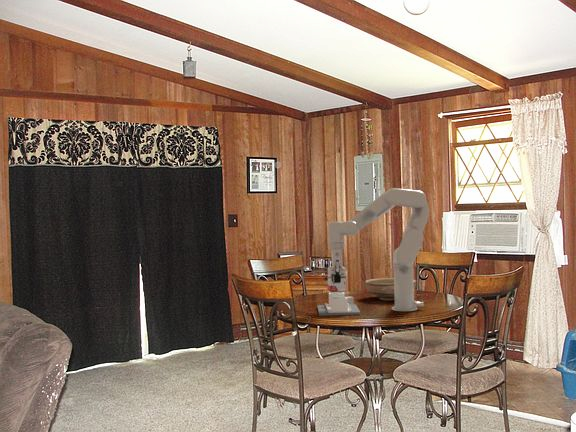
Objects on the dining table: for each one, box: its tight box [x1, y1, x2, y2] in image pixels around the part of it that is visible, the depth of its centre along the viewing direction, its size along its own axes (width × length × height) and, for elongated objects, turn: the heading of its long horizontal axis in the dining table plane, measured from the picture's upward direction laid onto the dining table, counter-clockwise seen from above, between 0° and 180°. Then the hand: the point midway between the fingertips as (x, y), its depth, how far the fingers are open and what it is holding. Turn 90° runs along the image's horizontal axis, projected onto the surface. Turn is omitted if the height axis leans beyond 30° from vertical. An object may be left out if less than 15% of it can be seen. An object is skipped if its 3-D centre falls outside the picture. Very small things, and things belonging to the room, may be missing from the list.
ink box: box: [327, 266, 347, 292], centre depth 322 cm, size 9×5×12 cm, turn 99°
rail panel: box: [317, 291, 361, 317], centre depth 322 cm, size 20×25×8 cm
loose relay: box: [346, 296, 355, 304], centre depth 343 cm, size 4×4×4 cm
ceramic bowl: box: [364, 277, 417, 301], centre depth 359 cm, size 37×29×10 cm
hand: (337, 281), depth 322 cm, fingers closed on ink box, 5 cm apart
